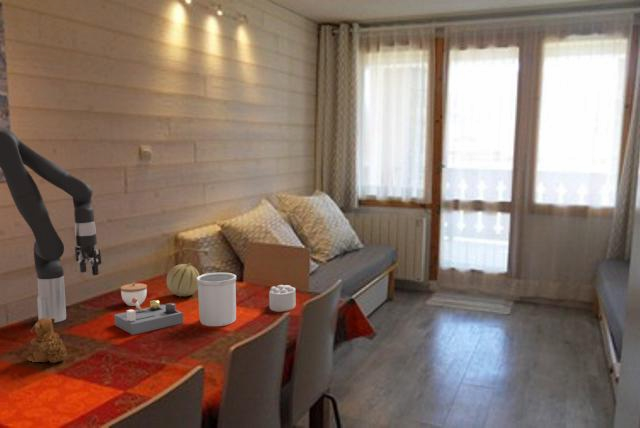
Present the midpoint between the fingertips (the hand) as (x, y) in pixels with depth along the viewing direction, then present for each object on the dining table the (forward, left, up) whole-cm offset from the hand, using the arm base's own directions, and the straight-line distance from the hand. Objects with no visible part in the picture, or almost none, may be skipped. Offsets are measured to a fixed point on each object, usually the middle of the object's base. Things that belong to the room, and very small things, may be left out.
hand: (89, 273), depth 219 cm
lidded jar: (+20, +6, -18) cm, 27 cm away
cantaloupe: (+42, +3, -18) cm, 46 cm away
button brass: (+17, -21, -13) cm, 30 cm away
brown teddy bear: (-27, -38, -18) cm, 50 cm away
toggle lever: (+11, -21, -13) cm, 27 cm away
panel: (+12, -25, -17) cm, 33 cm away
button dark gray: (+19, -29, -13) cm, 38 cm away
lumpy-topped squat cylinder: (+63, -42, -18) cm, 78 cm away
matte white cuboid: (+4, -29, -13) cm, 33 cm away
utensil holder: (+33, -40, -18) cm, 55 cm away
